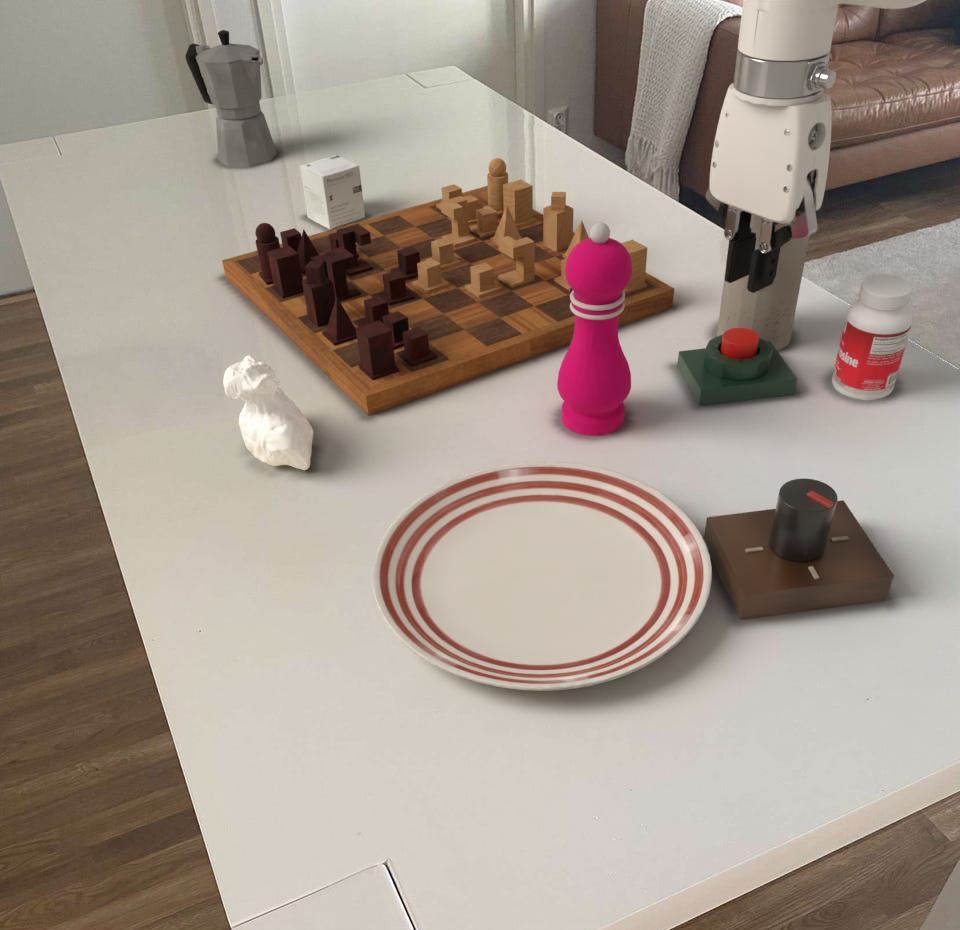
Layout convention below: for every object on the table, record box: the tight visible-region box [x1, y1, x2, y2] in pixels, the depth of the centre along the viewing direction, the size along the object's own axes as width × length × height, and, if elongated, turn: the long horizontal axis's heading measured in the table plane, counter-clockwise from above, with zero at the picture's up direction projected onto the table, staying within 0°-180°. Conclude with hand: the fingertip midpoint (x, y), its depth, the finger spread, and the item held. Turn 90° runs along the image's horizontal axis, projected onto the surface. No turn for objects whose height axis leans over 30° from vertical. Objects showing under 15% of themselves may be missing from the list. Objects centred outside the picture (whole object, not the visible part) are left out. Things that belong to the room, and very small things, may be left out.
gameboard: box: [221, 157, 675, 416], centre depth 120 cm, size 40×40×9 cm
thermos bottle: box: [716, 215, 811, 352], centre depth 102 cm, size 8×8×28 cm
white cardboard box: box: [299, 154, 366, 230], centre depth 139 cm, size 6×6×7 cm
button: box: [721, 328, 759, 360], centre depth 102 cm, size 4×4×2 cm
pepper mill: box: [556, 221, 632, 437], centre depth 95 cm, size 7×7×20 cm
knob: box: [769, 478, 839, 562], centre depth 80 cm, size 4×4×5 cm
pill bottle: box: [831, 273, 914, 401], centre depth 100 cm, size 6×6×11 cm
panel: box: [703, 499, 895, 621], centre depth 83 cm, size 12×10×3 cm
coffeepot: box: [185, 29, 278, 168], centre depth 154 cm, size 15×9×18 cm, turn 57°
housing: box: [676, 335, 798, 407], centre depth 104 cm, size 10×8×4 cm
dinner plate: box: [372, 461, 713, 692], centre depth 83 cm, size 28×27×3 cm
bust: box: [222, 354, 314, 471], centre depth 97 cm, size 12×8×11 cm
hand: (749, 281), depth 98 cm, fingers closed
